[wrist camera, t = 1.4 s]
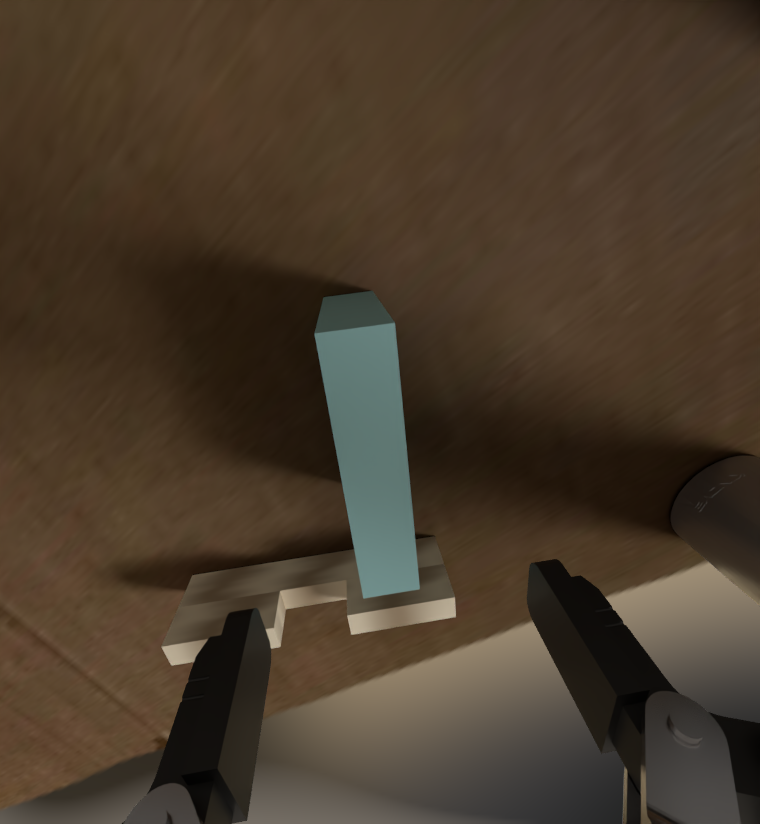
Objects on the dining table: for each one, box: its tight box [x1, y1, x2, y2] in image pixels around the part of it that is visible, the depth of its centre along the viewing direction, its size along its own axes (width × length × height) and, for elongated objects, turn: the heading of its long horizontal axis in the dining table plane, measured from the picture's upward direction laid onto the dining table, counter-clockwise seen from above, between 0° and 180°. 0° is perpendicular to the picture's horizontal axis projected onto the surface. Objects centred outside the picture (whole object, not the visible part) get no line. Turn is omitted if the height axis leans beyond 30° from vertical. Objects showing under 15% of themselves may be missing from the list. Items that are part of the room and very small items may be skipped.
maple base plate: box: [162, 536, 456, 666], centre depth 29 cm, size 20×2×6 cm, turn 96°
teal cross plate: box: [314, 291, 420, 599], centre depth 22 cm, size 14×3×10 cm, turn 6°
